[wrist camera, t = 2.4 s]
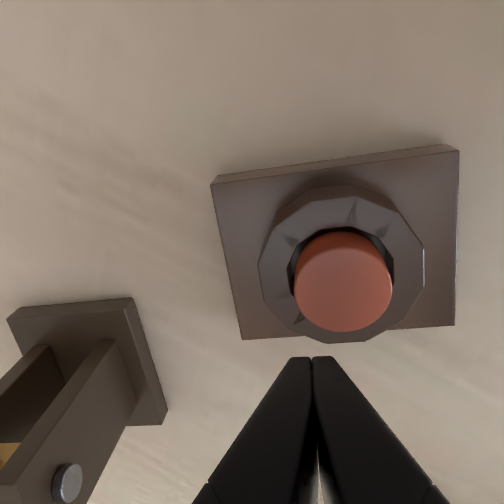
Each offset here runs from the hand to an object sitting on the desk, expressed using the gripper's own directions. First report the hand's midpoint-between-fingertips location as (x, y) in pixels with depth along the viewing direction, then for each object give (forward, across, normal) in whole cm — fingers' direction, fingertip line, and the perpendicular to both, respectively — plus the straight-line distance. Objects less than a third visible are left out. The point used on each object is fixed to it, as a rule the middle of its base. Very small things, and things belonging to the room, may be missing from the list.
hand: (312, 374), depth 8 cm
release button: (+9, -1, +2) cm, 9 cm away
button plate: (+12, -1, +2) cm, 12 cm away
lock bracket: (+12, +13, +9) cm, 20 cm away
